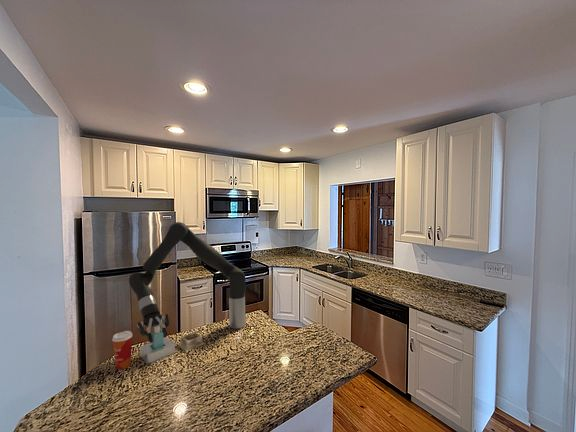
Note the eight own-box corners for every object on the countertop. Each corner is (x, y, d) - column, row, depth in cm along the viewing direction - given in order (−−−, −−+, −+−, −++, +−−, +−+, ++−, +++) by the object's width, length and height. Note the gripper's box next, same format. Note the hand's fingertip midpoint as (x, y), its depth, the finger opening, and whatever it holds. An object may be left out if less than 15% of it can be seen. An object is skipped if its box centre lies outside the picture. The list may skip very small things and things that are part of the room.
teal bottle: (160, 350, 124) (159, 323, 123) (163, 353, 121) (163, 326, 121) (151, 354, 121) (150, 326, 120) (154, 357, 118) (154, 329, 118)
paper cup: (111, 365, 113) (110, 334, 113) (131, 358, 119) (130, 328, 118) (115, 373, 108) (114, 340, 107) (135, 365, 113) (134, 334, 113)
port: (166, 346, 128) (166, 337, 128) (175, 354, 122) (174, 344, 121) (140, 357, 120) (139, 346, 120) (147, 365, 113) (147, 355, 113)
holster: (195, 338, 137) (195, 330, 137) (205, 344, 130) (205, 336, 130) (177, 345, 129) (176, 337, 129) (186, 353, 122) (186, 344, 122)
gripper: (134, 307, 120) (143, 341, 112) (165, 299, 130) (176, 330, 123) (130, 315, 124) (139, 349, 116) (161, 307, 134) (172, 337, 126)
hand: (158, 339), depth 119 cm, fingers open, 5 cm apart
